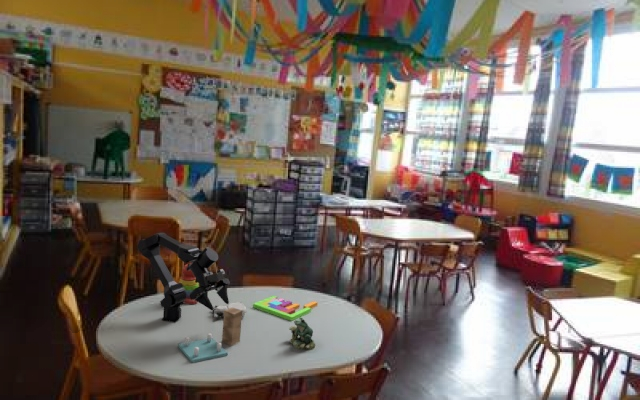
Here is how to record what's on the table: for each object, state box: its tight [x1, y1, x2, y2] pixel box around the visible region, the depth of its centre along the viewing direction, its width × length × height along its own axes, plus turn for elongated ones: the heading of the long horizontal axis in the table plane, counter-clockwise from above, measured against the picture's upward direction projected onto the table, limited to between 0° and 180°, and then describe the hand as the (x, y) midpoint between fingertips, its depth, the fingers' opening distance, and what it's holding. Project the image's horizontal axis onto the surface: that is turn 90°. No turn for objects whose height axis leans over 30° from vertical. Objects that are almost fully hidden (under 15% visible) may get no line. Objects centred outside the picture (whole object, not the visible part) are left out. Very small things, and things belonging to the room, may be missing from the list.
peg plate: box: [177, 333, 229, 364], centre depth 192 cm, size 14×14×4 cm
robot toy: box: [211, 301, 247, 318], centre depth 228 cm, size 12×4×15 cm
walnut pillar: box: [221, 307, 243, 346], centre depth 201 cm, size 5×5×13 cm
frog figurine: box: [288, 316, 316, 351], centre depth 206 cm, size 18×18×12 cm
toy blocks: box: [252, 295, 319, 322], centre depth 245 cm, size 23×2×25 cm
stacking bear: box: [178, 262, 200, 305], centre depth 241 cm, size 11×10×18 cm
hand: (220, 306), depth 203 cm, fingers open, 9 cm apart
